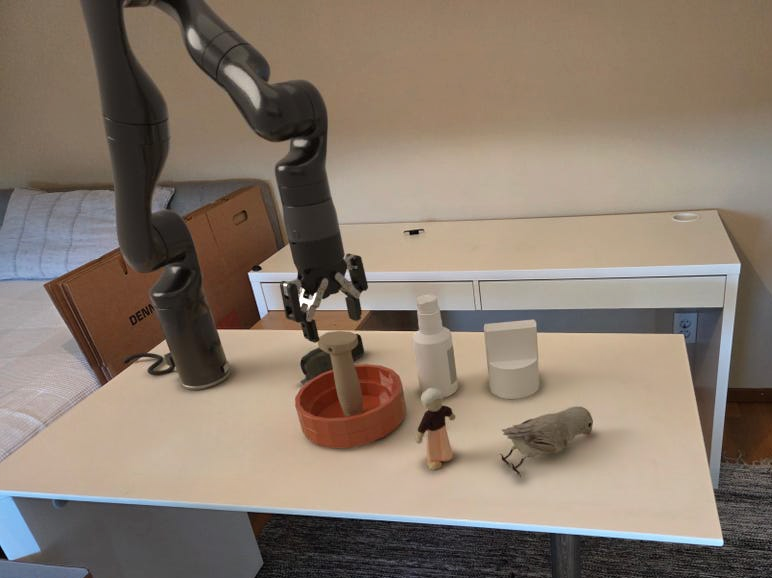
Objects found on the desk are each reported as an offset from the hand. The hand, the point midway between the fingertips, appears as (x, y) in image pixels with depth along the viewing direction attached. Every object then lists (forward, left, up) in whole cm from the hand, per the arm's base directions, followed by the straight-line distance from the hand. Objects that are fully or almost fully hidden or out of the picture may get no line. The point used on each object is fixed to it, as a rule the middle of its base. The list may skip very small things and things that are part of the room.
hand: (334, 329), depth 100 cm
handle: (0, 0, -17) cm, 17 cm away
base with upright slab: (+17, +23, -18) cm, 34 cm away
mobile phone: (-18, +10, -18) cm, 27 cm away
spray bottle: (+6, +15, -18) cm, 24 cm away
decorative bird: (+33, +10, -18) cm, 39 cm away
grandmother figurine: (+20, 0, -18) cm, 27 cm away
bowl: (0, 0, -17) cm, 17 cm away
